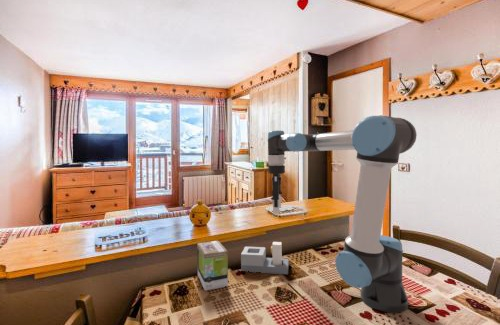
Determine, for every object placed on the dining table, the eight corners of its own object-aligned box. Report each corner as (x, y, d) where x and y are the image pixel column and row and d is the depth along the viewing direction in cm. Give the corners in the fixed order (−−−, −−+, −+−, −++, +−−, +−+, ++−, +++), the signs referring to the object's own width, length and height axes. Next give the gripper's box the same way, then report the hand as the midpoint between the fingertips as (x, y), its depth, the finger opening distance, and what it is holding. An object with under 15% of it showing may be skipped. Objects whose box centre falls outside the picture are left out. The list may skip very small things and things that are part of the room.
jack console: (287, 274, 117) (287, 256, 117) (241, 271, 121) (241, 254, 120) (288, 264, 127) (288, 248, 127) (245, 262, 130) (245, 246, 130)
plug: (281, 271, 120) (281, 245, 120) (270, 270, 121) (270, 244, 121) (281, 267, 124) (281, 242, 124) (271, 266, 125) (271, 241, 125)
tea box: (228, 286, 107) (228, 250, 107) (204, 291, 104) (203, 254, 103) (219, 271, 121) (218, 239, 121) (197, 275, 118) (196, 242, 117)
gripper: (283, 166, 108) (284, 217, 109) (285, 163, 133) (286, 205, 134) (265, 166, 109) (266, 217, 110) (270, 163, 134) (271, 205, 135)
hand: (277, 211), depth 122 cm, fingers open, 13 cm apart
